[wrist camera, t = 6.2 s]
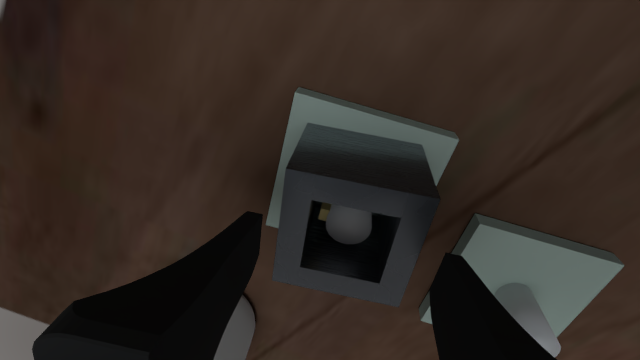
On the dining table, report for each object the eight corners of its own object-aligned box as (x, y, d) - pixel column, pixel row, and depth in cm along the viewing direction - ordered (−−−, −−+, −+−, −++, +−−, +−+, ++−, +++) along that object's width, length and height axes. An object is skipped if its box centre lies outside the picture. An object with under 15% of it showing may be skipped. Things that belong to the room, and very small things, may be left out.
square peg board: (613, 253, 19) (675, 320, 15) (533, 341, 23) (567, 412, 19) (474, 213, 19) (501, 270, 15) (418, 308, 23) (428, 373, 19)
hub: (422, 144, 17) (440, 199, 12) (392, 235, 19) (398, 307, 15) (307, 122, 17) (285, 168, 12) (294, 215, 20) (272, 280, 15)
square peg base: (454, 132, 17) (479, 174, 13) (396, 251, 21) (403, 311, 17) (298, 86, 17) (277, 115, 13) (270, 214, 21) (246, 266, 17)
